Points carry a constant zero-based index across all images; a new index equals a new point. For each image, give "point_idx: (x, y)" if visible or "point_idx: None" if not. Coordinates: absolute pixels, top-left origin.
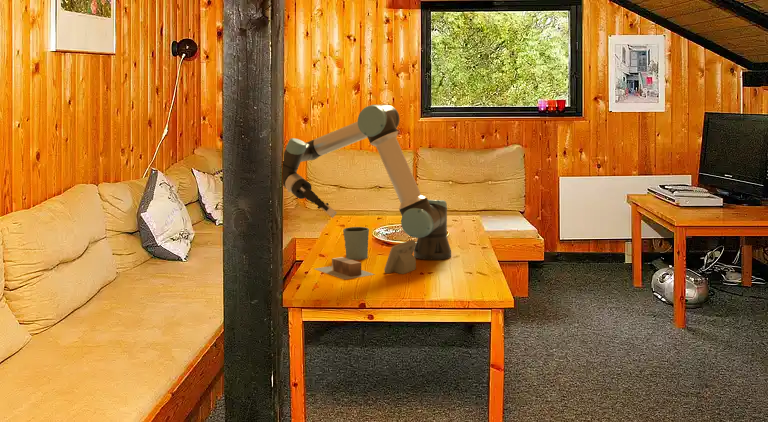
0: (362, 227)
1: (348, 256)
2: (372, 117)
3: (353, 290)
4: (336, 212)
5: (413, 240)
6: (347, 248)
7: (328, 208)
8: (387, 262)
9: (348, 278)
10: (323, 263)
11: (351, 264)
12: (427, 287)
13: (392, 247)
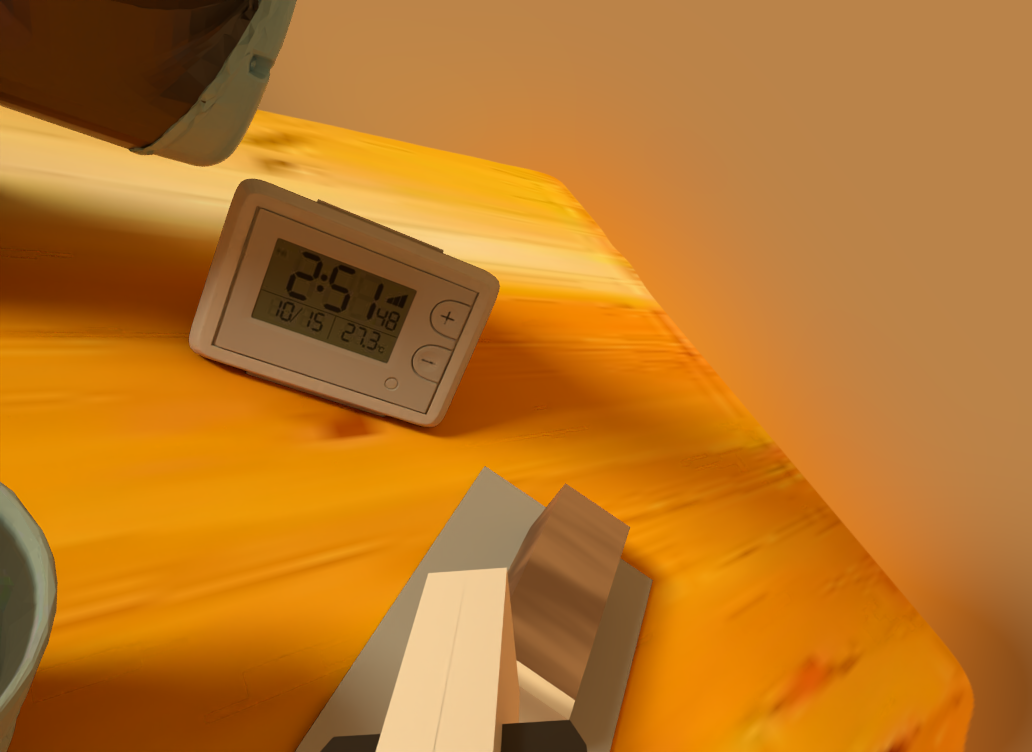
0: None
1: None
2: None
3: (733, 501)
4: (442, 579)
5: (261, 180)
6: None
7: (507, 736)
8: (461, 373)
9: (627, 568)
10: None
11: (624, 525)
12: (548, 295)
13: (494, 286)
